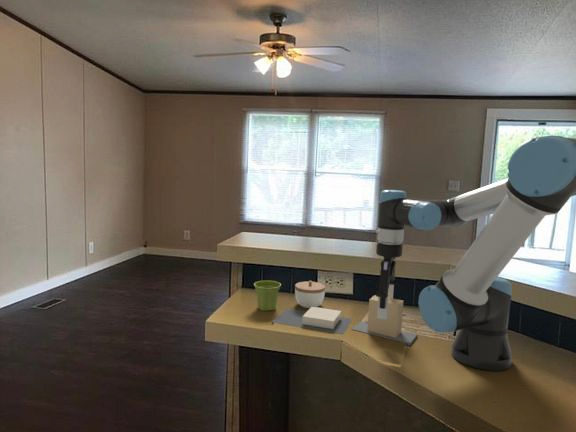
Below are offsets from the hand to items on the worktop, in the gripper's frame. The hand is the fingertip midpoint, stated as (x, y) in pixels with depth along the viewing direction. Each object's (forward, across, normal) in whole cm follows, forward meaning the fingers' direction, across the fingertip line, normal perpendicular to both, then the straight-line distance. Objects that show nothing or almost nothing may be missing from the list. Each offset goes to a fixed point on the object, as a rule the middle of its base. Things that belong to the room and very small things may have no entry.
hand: (385, 311), depth 136 cm
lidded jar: (+7, -14, -28) cm, 32 cm away
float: (+8, 0, 0) cm, 8 cm away
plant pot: (+8, -6, -41) cm, 42 cm away
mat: (+7, 0, -22) cm, 24 cm away
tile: (+5, 0, -14) cm, 15 cm away
